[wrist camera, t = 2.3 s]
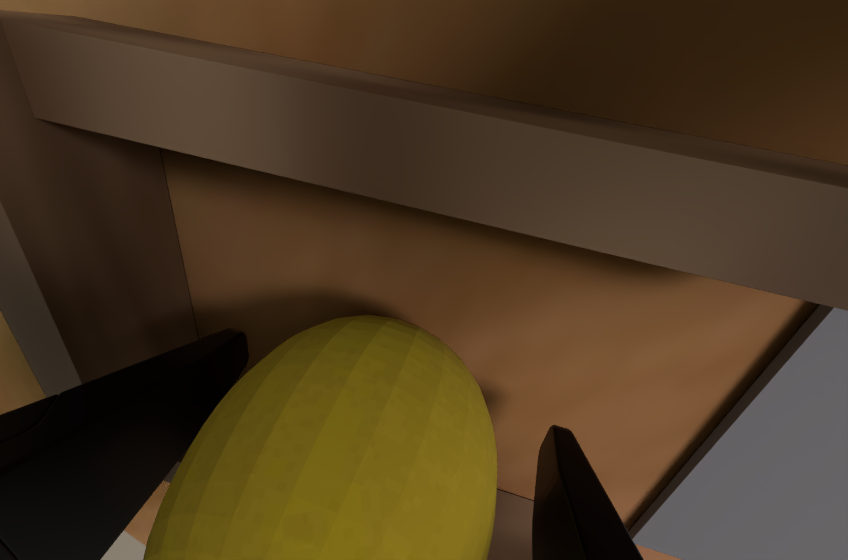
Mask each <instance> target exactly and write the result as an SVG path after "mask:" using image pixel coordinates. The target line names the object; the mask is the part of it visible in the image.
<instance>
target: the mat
mask: <svg viewBox="0 0 848 560" xmlns="http://www.w3.org/2000/svg"><path fill="white" fill-rule="evenodd" d="M628 533H629V535H630V536H631V538H632V540H633V542H634V544H637V545H640V546H643V547H646V548H649V549H652V550H655V551H658V552H661V553H664V554H667V555H670V556H673V557H677V558H680V559H683V560H848V311H847V310H842V309H838V308H834V307H830V306H826V305H821V304H820V305H819V306H818V307H817V309H816V310H815V311H814V312H813V313H812V315H811V316H810V317H809V318H808V319H807V320H806V322H805V323H804V324H803V325H802V326H801V328H800V329H799V330H798V331H797V332H796V334H795V335H794V336H793V337H792V338H791V339H790V341H789V342H788V343H787V344H786V345H785V347H784V348H783V349H782V350H781V351H780V353H779V354H778V355H777V356H776V357H775V358H774V360H773V361H772V362H771V363H770V364H769V366H768V367H767V368H766V369H765V370H764V371H763V373H762V374H761V375H760V376H759V377H758V379H757V380H756V381H755V382H754V383H753V385H752V386H751V387H750V388H749V389H748V390H747V392H746V393H745V394H744V395H743V396H742V398H741V399H740V400H739V401H738V402H737V404H736V405H735V406H734V407H733V408H732V409H731V411H730V412H729V413H728V414H727V415H726V417H725V418H724V419H723V420H722V421H721V422H720V424H719V425H718V426H717V427H716V428H715V430H714V431H713V432H712V433H711V434H710V436H709V437H708V438H707V439H706V440H705V441H704V443H703V444H702V445H701V446H700V447H699V449H698V450H697V451H696V452H695V453H694V455H693V456H692V457H691V458H690V459H689V460H688V462H687V463H686V464H685V465H684V466H683V468H682V469H681V470H680V471H679V472H678V473H677V475H676V476H675V477H674V478H673V479H672V481H671V482H670V483H669V484H668V485H667V487H666V488H665V489H664V490H663V491H662V492H661V494H660V495H659V496H658V497H657V498H656V500H655V501H654V502H653V503H652V504H651V506H650V507H649V508H648V509H647V510H646V511H645V513H644V514H643V515H642V516H641V517H640V519H639V520H638V521H637V522H636V523H635V524H634V526H633V527H632V528H631V529H630V530H629V532H628Z"/></svg>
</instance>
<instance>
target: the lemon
mask: <svg viewBox="0 0 848 560" xmlns="http://www.w3.org/2000/svg"><path fill="white" fill-rule="evenodd" d="M496 491H497V451H496V442H495V435H494V430H493V426H492V421H491V418H490V415H489V412H488V409H487V406H486V403H485V400H484V398H483V395H482V392H481V389H480V387H479V385H478V384H477V382H476V380H475V379H474V377H473V376H472V374H471V373H470V371H469V370H468V369H467V367H466V366H465V364H464V363H463V361H462V360H461V358H460V357H458V356H457V355H456V354H455V353H454V352H453V351H452V350H451V349H450V348H449V347H448V346H447V345H446V344H444V343H443V342H442V341H441V340H440V339H439V338H437V337H436V336H434V335H432V334H431V333H429V332H427V331H426V330H424V329H422V328H421V327H419V326H416V325H414V324H411V323H408V322H405V321H402V320H399V319H396V318H389V317H382V316H374V315H362V316H350V317H342V318H336V319H333V320H330V321H327V322H325V323H322V324H319V325H317V326H314V327H312V328H309V329H307V330H304V331H302V332H300V333H298V334H296V335H294V336H293V337H291V338H289V339H288V340H286V341H285V342H284V343H282V344H281V345H279V346H278V347H277V348H275V349H274V350H273V351H272V352H271V353H269V354H268V355H267V356H266V357H265V358H263V359H262V360H261V361H260V362H259V363H257V364H256V365H255V366H254V367H253V368H252V369H251V370H249V371H248V372H247V373H246V374H245V375H244V376H243V377H242V378H241V379H240V380H239V381H238V382H237V383H236V384H235V385H234V386H233V387H232V388H231V389H230V390H229V392H228V393H227V394H226V395H225V397H224V398H223V399H222V400H221V401H220V403H219V404H218V405H217V406H216V408H215V409H214V411H213V412H212V413H211V415H210V416H209V418H208V419H207V420H206V422H205V423H204V425H203V426H202V428H201V430H200V431H199V433H198V434H197V436H196V438H195V439H194V441H193V442H192V444H191V446H190V447H189V449H188V451H187V453H186V455H185V456H184V458H183V460H182V462H181V464H180V466H179V467H178V469H177V471H176V473H175V475H174V478H173V480H172V482H171V484H170V486H169V488H168V490H167V492H166V494H165V496H164V499H163V501H162V504H161V506H160V508H159V511H158V513H157V516H156V519H155V521H154V524H153V527H152V529H151V532H150V535H149V538H148V541H147V545H146V550H145V554H144V559H143V560H487V557H488V553H489V548H490V544H491V539H492V533H493V526H494V519H495V509H496Z"/></svg>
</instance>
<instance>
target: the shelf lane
mask: <svg viewBox="0 0 848 560" xmlns="http://www.w3.org/2000/svg"><path fill="white" fill-rule="evenodd" d="M159 147H161V148H165V149H169V150H173V151H178V152H182V153H186V154H190V155H194V156H199V157H203V158H207V159H211V160H215V161H220V162H224V163H228V164H232V165H236V166H241V167H245V168H249V169H253V170H258V171H262V172H266V173H270V174H274V175H279V176H283V177H287V178H291V179H295V180H300V181H304V182H308V183H312V184H316V185H321V186H325V187H329V188H333V189H337V190H342V191H346V192H350V193H354V194H359V195H363V196H367V197H371V198H375V199H380V200H384V201H388V202H392V203H396V204H401V205H405V206H409V207H413V208H417V209H422V210H426V211H430V212H434V213H438V214H443V215H447V216H451V217H455V218H460V219H464V220H468V221H472V222H476V223H481V224H485V225H489V226H493V227H497V228H502V229H506V230H510V231H514V232H518V233H523V234H527V235H531V236H535V237H539V238H544V239H548V240H552V241H556V242H561V243H565V244H569V245H573V246H577V247H582V248H586V249H590V250H594V251H598V252H603V253H607V254H611V255H615V256H619V257H624V258H628V259H632V260H636V261H640V262H645V263H649V264H653V265H657V266H662V267H666V268H670V269H674V270H678V271H683V272H687V273H691V274H695V275H699V276H704V277H708V278H712V279H716V280H720V281H725V282H729V283H733V284H737V285H741V286H746V287H750V288H754V289H758V290H763V291H767V292H771V293H775V294H779V295H784V296H788V297H792V298H796V299H800V300H805V301H809V302H813V303H817V304H821V305H826V306H830V307H834V308H838V309H842V310H847V311H848V166H847V165H842V164H837V163H831V162H826V161H821V160H816V159H811V158H806V157H800V156H795V155H790V154H785V153H780V152H774V151H769V150H764V149H759V148H754V147H749V146H743V145H738V144H733V143H728V142H723V141H717V140H712V139H707V138H702V137H697V136H692V135H686V134H681V133H676V132H671V131H666V130H660V129H655V128H650V127H645V126H640V125H635V124H629V123H624V122H619V121H614V120H609V119H603V118H598V117H593V116H588V115H583V114H578V113H572V112H567V111H562V110H557V109H552V108H546V107H541V106H536V105H531V104H526V103H521V102H515V101H510V100H505V99H500V98H495V97H489V96H484V95H479V94H474V93H469V92H464V91H458V90H453V89H448V88H443V87H438V86H432V85H427V84H422V83H417V82H412V81H407V80H401V79H396V78H391V77H386V76H381V75H375V74H370V73H365V72H360V71H355V70H350V69H344V68H339V67H334V66H329V65H324V64H318V63H313V62H308V61H303V60H298V59H293V58H287V57H282V56H277V55H272V54H267V53H261V52H256V51H251V50H246V49H241V48H235V47H230V46H225V45H220V44H215V43H210V42H204V41H199V40H194V39H189V38H184V37H178V36H173V35H168V34H163V33H158V32H153V31H147V30H142V29H137V28H132V27H127V26H121V25H116V24H111V23H106V22H101V21H96V20H90V19H85V18H80V17H73V16H62V15H50V14H38V13H26V12H14V11H2V10H0V310H1V312H2V314H3V316H4V318H5V320H6V322H7V324H8V325H9V327H10V329H11V331H12V333H13V335H14V337H15V339H16V341H17V342H18V344H19V346H20V348H21V350H22V352H23V354H24V356H25V358H26V360H27V361H28V363H29V365H30V367H31V369H32V371H33V373H34V375H35V377H36V378H37V380H38V382H39V384H40V386H41V388H42V390H43V392H44V394H45V396H46V397H50V396H52V395H55V394H58V395H59V394H60V393H61V392H63V391H66V390H68V389H71V388H74V387H76V386H79V385H81V384H84V383H87V382H89V381H92V380H94V379H97V378H100V377H102V376H105V375H107V374H110V373H113V372H115V371H118V370H121V369H123V368H126V367H128V366H131V365H134V364H136V363H139V362H141V361H144V360H147V359H149V358H152V357H154V356H157V355H160V354H162V353H165V352H167V351H170V350H173V349H175V348H178V347H181V346H183V345H186V344H188V343H191V342H194V341H196V340H199V339H198V335H197V330H196V325H195V320H194V315H193V310H192V305H191V300H190V296H189V291H188V286H187V281H186V276H185V271H184V266H183V261H182V256H181V252H180V247H179V242H178V237H177V232H176V227H175V222H174V217H173V213H172V208H171V203H170V198H169V193H168V188H167V183H166V178H165V173H164V169H163V164H162V159H161V154H160V149H159ZM190 446H191V445H190ZM188 449H189V448H188ZM188 449H187V451H188ZM187 451H186V452H185V453H184V454H183V456H182V457H181V458H180V459H179V461H178V462H177V463H176V464H175V466H174V467H173V468H172V470H171V471H170V472H169V473H168V475H167V476H166V477H165V478H164V481H167V482H170V483H171V482H172V480H173V478H174V475H175V473H176V471H177V469H178V467H179V466H180V464H181V462H182V460H183V458H184V456H185V455H186V453H187ZM161 483H162V482H161ZM161 483H160V484H161ZM533 506H534V501H531V500H528V499H525V498H522V497H519V496H516V495H513V494H510V493H507V492H504V491H501V490H498V489H497V491H496V509H495V519H494V526H493V533H492V539H491V544H490V548H489V553H488V557H487V560H532V518H533Z"/></svg>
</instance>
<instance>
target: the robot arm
mask: <svg viewBox="0 0 848 560" xmlns="http://www.w3.org/2000/svg"><path fill="white" fill-rule="evenodd" d="M248 359H249V352H248V344H247V336H246V334H245V333H244V332H242V331H239V330H236V329H232V328H228V329H225V330H222V331H220V332H217V333H214V334H212V335H209V336H207V337H204V338H201V339H199V340H196V341H194V342H191V343H188V344H186V345H183V346H181V347H178V348H175V349H173V350H170V351H167V352H165V353H162V354H160V355H157V356H154V357H152V358H149V359H147V360H144V361H141V362H139V363H136V364H134V365H131V366H128V367H126V368H123V369H121V370H118V371H115V372H113V373H110V374H107V375H105V376H102V377H100V378H97V379H94V380H92V381H89V382H87V383H84V384H81V385H79V386H76V387H74V388H71V389H68V390H66V391H63V392H61V393H60V394H59V395H58V394H55V395H52V396H50V397H47V398H45V399H42V400H39V401H37V402H34V403H31V404H29V405H26V406H23V407H21V408H18V409H15V410H12V411H10V412H7V413H4V414H1V415H0V560H100V559H101V558H102V557H103V555H104V554H105V553H106V552H107V551H108V549H109V548H110V547H111V545H112V544H113V543H114V542H115V540H116V539H117V538H118V537H119V535H120V534H121V533H122V532H123V530H124V529H125V528H126V527H127V525H128V524H129V523H130V522H131V520H132V519H133V518H134V516H135V515H136V514H137V513H138V511H139V510H140V509H141V508H142V506H143V505H144V504H145V503H146V501H147V500H148V499H149V497H150V496H151V495H152V494H153V492H154V491H155V490H156V489H157V487H158V486H159V485H160V483H161V482H162V481H163V480H164V478H165V477H166V476H167V475H168V473H169V472H170V471H171V470H172V468H173V467H174V466H175V464H176V463H177V462H178V461H179V459H180V458H181V457H182V456H183V454H184V453H185V452H186V451H187V449H188V448H189V447H190V445H191V444H192V442H193V441H194V439H195V438H196V436H197V434H198V433H199V431H200V430H201V428H202V426H203V425H204V423H205V422H206V420H207V419H208V418H209V416H210V415H211V413H212V412H213V411H214V409H215V408H216V406H217V405H218V404H219V403H220V401H221V400H222V399H223V398H224V397H225V395H226V394H227V393H228V392H229V390H230V389H231V388H232V387H233V385H234V383H235V382H236V380H237V379H238V377H239V376H240V374H241V372H242V371H243V369H244V368H245V366H246V364H247V362H248ZM532 560H643V558H642V556H641V554H640V552H639V551H638V549H637V547H636V545H635V544H634V542H633V540H632V538H631V536H630V535H629V533H628V531H627V529H626V527H625V526H624V524H623V522H622V520H621V519H620V517H619V515H618V513H617V511H616V510H615V508H614V506H613V504H612V502H611V501H610V499H609V497H608V495H607V494H606V492H605V490H604V488H603V486H602V485H601V483H600V481H599V479H598V478H597V476H596V474H595V472H594V470H593V469H592V467H591V465H590V463H589V461H588V460H587V458H586V456H585V454H584V453H583V451H582V449H581V447H580V445H579V444H578V442H577V440H576V438H575V436H574V435H573V433H572V432H571V431H570V430H569V429H567V428H563V427H560V426H557V425H552V426H551V427H550V428H549V430H548V432H547V434H546V437H545V439H544V441H543V443H542V445H541V447H540V450H539V455H538V465H537V475H536V486H535V496H534V506H533V518H532Z"/></svg>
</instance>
